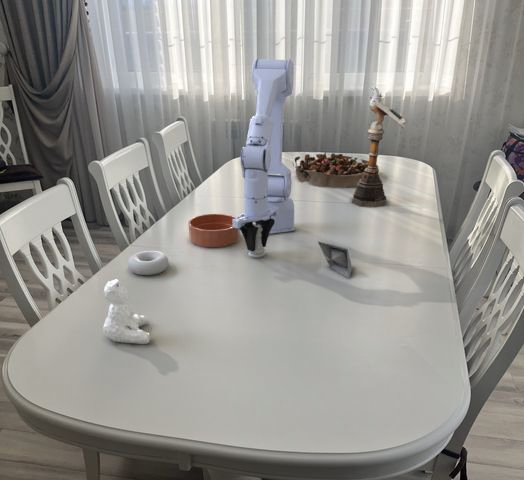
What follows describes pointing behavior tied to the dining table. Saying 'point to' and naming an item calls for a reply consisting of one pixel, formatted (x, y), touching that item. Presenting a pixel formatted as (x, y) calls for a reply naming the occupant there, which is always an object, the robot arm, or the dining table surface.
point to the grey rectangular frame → (337, 258)
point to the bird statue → (374, 157)
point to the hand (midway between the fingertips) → (256, 248)
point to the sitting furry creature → (122, 317)
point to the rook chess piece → (258, 245)
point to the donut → (148, 262)
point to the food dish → (331, 170)
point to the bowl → (213, 230)
